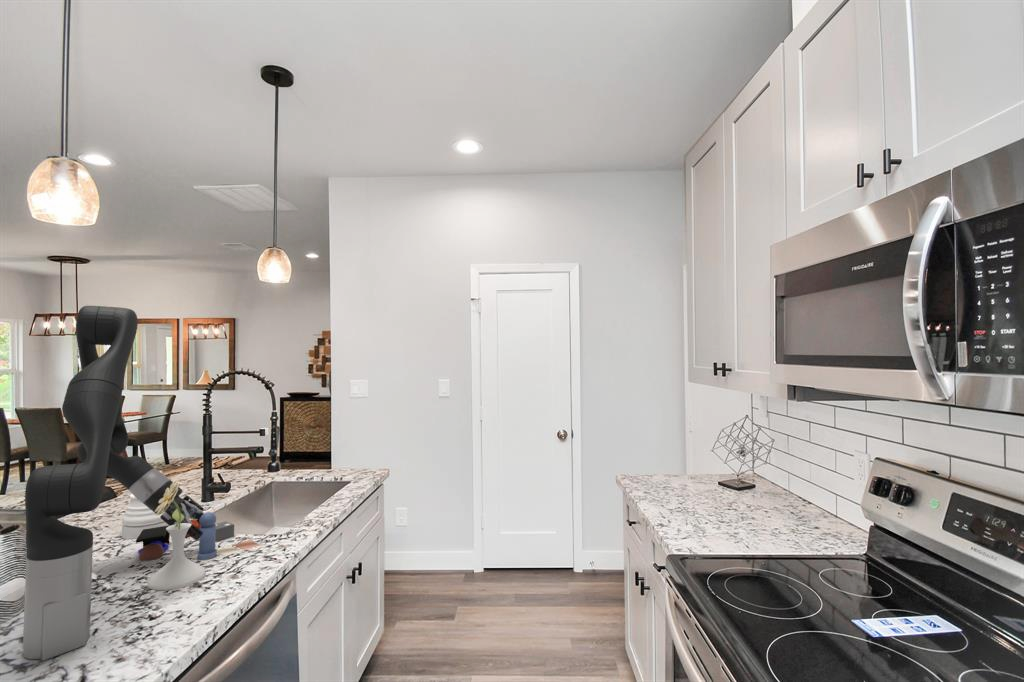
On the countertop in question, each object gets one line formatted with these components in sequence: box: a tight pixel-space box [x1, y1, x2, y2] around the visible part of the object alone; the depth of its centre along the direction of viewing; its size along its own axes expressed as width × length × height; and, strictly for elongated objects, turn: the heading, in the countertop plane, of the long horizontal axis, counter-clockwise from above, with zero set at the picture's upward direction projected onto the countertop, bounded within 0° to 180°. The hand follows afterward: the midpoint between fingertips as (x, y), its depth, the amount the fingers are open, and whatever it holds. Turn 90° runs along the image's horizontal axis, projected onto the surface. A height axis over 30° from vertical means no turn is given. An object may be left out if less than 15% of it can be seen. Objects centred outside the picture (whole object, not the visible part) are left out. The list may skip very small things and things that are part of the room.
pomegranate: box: [185, 519, 201, 539], centre depth 148 cm, size 6×6×8 cm
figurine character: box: [135, 525, 171, 562], centre depth 134 cm, size 7×8×15 cm
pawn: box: [196, 511, 218, 561], centre depth 130 cm, size 4×4×12 cm
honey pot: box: [121, 470, 168, 540], centre depth 154 cm, size 13×13×18 cm
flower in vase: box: [147, 481, 207, 592], centre depth 116 cm, size 13×11×25 cm
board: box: [191, 539, 261, 564], centre depth 134 cm, size 8×16×2 cm, turn 146°
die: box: [215, 520, 235, 543], centre depth 144 cm, size 5×5×5 cm
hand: (205, 531), depth 130 cm, fingers open, 8 cm apart
